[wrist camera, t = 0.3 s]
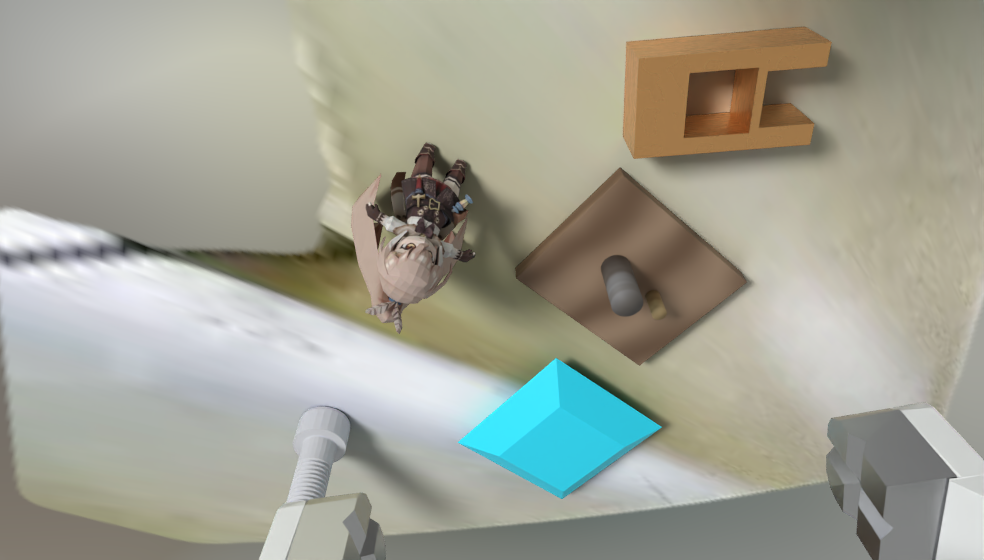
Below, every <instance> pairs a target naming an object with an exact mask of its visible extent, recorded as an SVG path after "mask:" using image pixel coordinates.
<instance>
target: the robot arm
mask: <svg viewBox="0 0 984 560" xmlns="http://www.w3.org/2000/svg"><path fill="white" fill-rule="evenodd" d="M827 436H828V438H829V439H830V441H831V442H832V444H833V445H834V447H833V449H832V450H831V451H830V452H829V453H828V454H827V456H826V472H827V476H828V480H829V484H830V488H831V490H832V492H833V495H834V497H835V499H836V501H837V503H838V504H839V506H840V508H841V510H842V511H843V512H844V513H846V514H848V515H849V516H851V517H853V518H854V519H856V520H857V533H856V534H857V536H858V537H859V539H860V541H861V542H862V544H863V545H864V547H865V549H866V550H867V552H868V553H869V555H870V557H871V558H872V560H984V459H983V458H982V457H981V456H980V455H979V454H978V453H977V452H976V451H975V450H974V449H973V448H972V447H971V446H970V444H968V442H967V441H965V439H964V438H963V437H962V436H961V435H960V434H959V433H958V432H957V431H956V430H955V429H954V428H953V427H952V426H951V425H950V424H949V423H948V421H947V420H946V419H945V418H944V417H943V416H942V415H941V414H940V413H939V412H938V411H937V410H936V409H935V408H934V407H933V406H932V405H930V404H928V403H926V402H923V403H917V404H911V405H905V406H900V407H894V408H892V409H891V408H888V409H882V410H876V411H870V412H864V413H859V414H853V415H847V416H841V417H835V418H831V420H830V422H829V424H828V433H827ZM371 509H372V506H371V504H370V502H369V499H368V497H367V495H366V494H364V493H354V494H347V495H339V496H331V497H324V498H316V499H310V500H306V501H298V502H290V503H283V505H282V506H281V507H280V508H279V509H278V510H277V512H276V515H275V518H274V520H273V523H272V526H271V528H270V531H269V534H268V536H267V539H266V542H265V545H264V547H263V550H262V553H261V555H260V558H259V560H386V545H385V541H384V536H383V533H382V530H381V528H380V525H379V524H378V523H377V522H375V521H374V520H372V519H370V514H371Z"/></svg>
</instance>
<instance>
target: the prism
mask: <svg viewBox="0 0 984 560" xmlns="http://www.w3.org/2000/svg"><path fill="white" fill-rule="evenodd" d="M660 428H662V427H661V426H660V425H658V424H656V423H655V422H653V421H652V420H650V419H649V418H647V417H646V416H644V415H643V414H641V413H640V412H638V411H637V410H635V409H633V408H632V407H630V406H629V405H627V404H626V403H624V402H623V401H621V400H620V399H618V398H617V397H615V396H614V395H612V394H610V393H609V392H607V391H606V390H604V389H603V388H601V387H600V386H598V385H597V384H595V383H594V382H592V381H591V380H589V379H588V378H586V377H584V376H583V375H581V374H580V373H578V372H577V371H575V370H574V369H572V368H571V367H569V366H568V365H566V364H565V363H563V362H561V361H560V360H558V359H557V358H556V359H555V360H553V361H552V362H551V363H550V364H549V365H548V366H546V367H545V368H544V369H543V370H542V371H541V372H539V373H538V374H537V375H536V376H535V377H534V378H532V379H531V380H530V381H529V382H528V383H527V384H525V385H524V386H523V387H522V388H521V389H520V390H518V391H517V392H516V393H515V394H514V395H513V396H511V397H510V398H509V399H508V400H507V401H506V402H504V403H503V404H502V405H501V406H500V407H499V408H497V409H496V410H495V411H494V412H493V413H492V414H490V415H489V416H488V417H487V418H486V419H485V420H483V421H482V422H481V423H480V424H479V425H478V426H476V427H475V428H474V429H473V430H472V431H471V432H469V433H468V434H467V435H466V436H465V437H464V438H462V439H461V440H460V441H459V442H458V443H460V444H461V445H463V446H465V447H467V448H469V449H471V450H472V451H474V452H476V453H478V454H480V455H482V456H484V457H485V458H487V459H489V460H491V461H493V462H495V463H496V464H498V465H500V466H502V467H504V468H506V469H508V470H509V471H511V472H513V473H515V474H517V475H519V476H520V477H522V478H524V479H526V480H528V481H530V482H531V483H533V484H535V485H537V486H539V487H541V488H543V489H544V490H546V491H548V492H550V493H552V494H554V495H555V496H557V497H559V498H561V499H563V498H564V497H566V496H567V495H569V494H570V493H571V492H573V491H574V490H575V489H577V488H578V487H580V486H581V485H582V484H584V483H585V482H587V481H588V480H589V479H591V478H592V477H594V476H595V475H596V474H598V473H599V472H601V471H602V470H603V469H605V468H606V467H608V466H609V465H610V464H612V463H613V462H614V461H616V460H617V459H619V458H620V457H621V456H623V455H624V454H626V453H627V452H628V451H630V450H631V449H633V448H634V447H635V446H637V445H638V444H640V443H641V442H642V441H644V440H645V439H647V438H648V437H649V436H651V435H652V434H653V433H655V432H656V431H658V430H659V429H660Z"/></svg>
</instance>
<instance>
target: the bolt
mask: <svg viewBox="0 0 984 560" xmlns="http://www.w3.org/2000/svg"><path fill="white" fill-rule="evenodd" d="M350 428H351V427H350V422H349V420H348V418H347V417H346V416H345V415H344V414H343V413H342V412H340V411H339V410H337V409H334V408H331V407H324V406H322V407H314V408H311V409H309V410H307V411H306V412H305V413H304V414H303V415H302V416H301V418H300V421H299V424H298V427H297V431H296V434H295V437H294V441H293V448H294V450H295V452H296V453H297V454H298V456H299V460H298V463H297V467H296V471H295V474H294V477H293V480H292V484H291V488H290V491H289V494H288V498H287V502H286V503H290V502H298V501H306V500H310V499H316V498H324V497H325V494H326V490H327V485H328V481H329V477H330V472H331V468H332V464H333V463H334V462H336V461H338V460H340V459H341V458H342V457H343V456H344V454H345V452H346V447H347V442H348V438H349V433H350Z"/></svg>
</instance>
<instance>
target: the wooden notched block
mask: <svg viewBox="0 0 984 560" xmlns="http://www.w3.org/2000/svg"><path fill="white" fill-rule="evenodd" d="M831 43H832V42H831V41H829V40H827V39H825V38H824V37H822V36H820V35H819V34H817V33H815V32H813V31H812V30H810V29H808V28H807V27H794V28H783V29H771V30H760V31H748V32H736V33H725V34H713V35H701V36H690V37H678V38H666V39H655V40H643V41H631V42H627V45H626V72H625V98H624V124H623V137H624V140H625V142H626V144H627V146H628V148H629V150H630V152H631V154H632V156H633V158H634V159H637V158H649V157H662V156H674V155H686V154H699V153H711V152H724V151H736V150H749V149H761V148H774V147H786V146H798V145H810V142H811V137H812V133H813V128H814V123H813V122H812V121H811V120H810V119H809V118H807V117H806V116H805V115H804V114H803V113H801V112H800V111H799V110H798V109H797V108H796V107H794V106H793V105H792V104H791V103H787V104H775V105H763V99H764V92H765V86H766V80H767V74H768V71H778V70H790V69H802V68H813V67H825V66H827V62H828V57H829V53H830V48H831ZM734 69H736V71H735V79H734V86H733V94H732V101H731V109H730V112H726V113H714V114H702V115H690V116H686V106H687V96H688V85H689V74H690V73H698V72H710V71H722V70H734ZM762 105H763V106H762Z"/></svg>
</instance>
